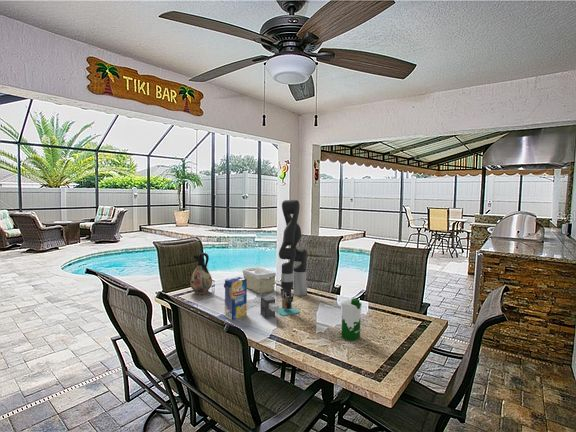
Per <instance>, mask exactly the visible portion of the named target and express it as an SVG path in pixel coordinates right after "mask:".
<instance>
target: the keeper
mask: <svg viewBox="0 0 576 432" xmlns="http://www.w3.org/2000/svg"><path fill="white" fill-rule="evenodd" d="M267 302H274V303H276V298H274V297H273V296H272V295H266V296H260V315H261V316H262V317H263V318H264V319H270V318H275V317H276V311H272V310H270V309H269V308H268V307H267Z"/></svg>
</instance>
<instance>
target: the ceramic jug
mask: <svg viewBox="0 0 576 432" xmlns="http://www.w3.org/2000/svg"><path fill="white" fill-rule="evenodd" d="M204 257H205V259H204ZM192 260H195V261H197V265H196V267H195V269H194V270H193V272H192V275H191V278H190V283H189V284H190V287H191V289H192V290H193V292H194V294H196V295H205V294H208V293H209V290H210V289H211V287H212V285H213V278H212V275H211V273H210V272H209V270H208V263H209V255H208V253H206V252H201V253H198V254H194V256H193V257H192Z"/></svg>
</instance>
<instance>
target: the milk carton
mask: <svg viewBox="0 0 576 432" xmlns="http://www.w3.org/2000/svg"><path fill="white" fill-rule="evenodd" d="M362 304H363V302H360V299H359V298H351V299H347V300H345V301H343V302H341V304H340V305H341V335H340V336H341V337H340V338H342V339H346V340H349V341H351V342H355V341H356V340H358V339H359V338H360V337H361V316H362V315H361V313H362V306H363V305H362Z"/></svg>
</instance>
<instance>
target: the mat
mask: <svg viewBox="0 0 576 432" xmlns="http://www.w3.org/2000/svg"><path fill="white" fill-rule="evenodd" d="M275 313H278V314H279V315H280V316H281V317H286V316H289V315H296V314H300V313H301V312H300V311H299V310H297V308H295V307H293V306H292V309H288V310H285V309H283V308H282V307H279V310H278V311H275Z"/></svg>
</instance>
